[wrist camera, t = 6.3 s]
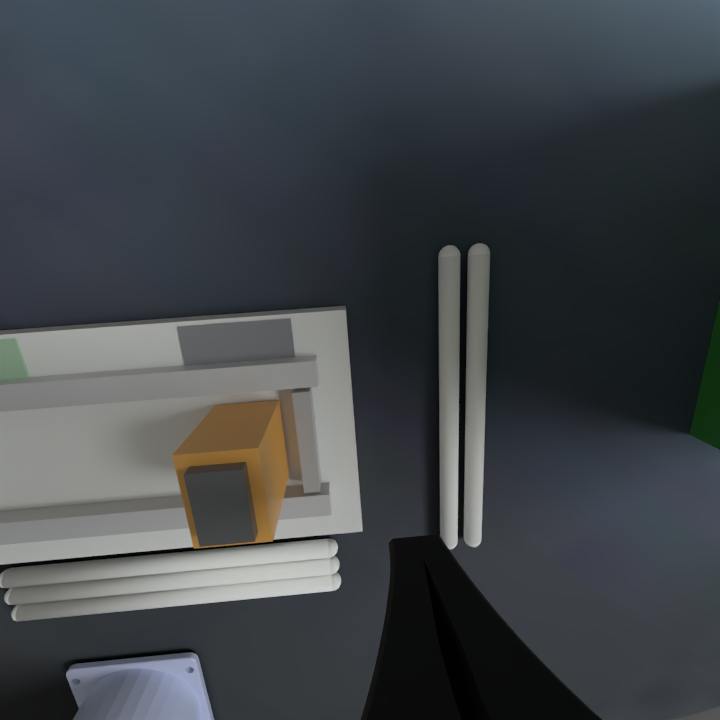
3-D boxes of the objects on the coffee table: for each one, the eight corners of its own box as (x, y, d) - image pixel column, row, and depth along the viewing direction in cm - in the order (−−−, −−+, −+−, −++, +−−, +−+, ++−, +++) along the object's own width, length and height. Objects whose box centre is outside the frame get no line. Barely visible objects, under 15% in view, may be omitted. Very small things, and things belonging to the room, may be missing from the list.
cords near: (477, 537, 22) (483, 550, 21) (438, 541, 22) (442, 554, 21) (485, 242, 17) (494, 241, 16) (435, 246, 17) (441, 245, 16)
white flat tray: (361, 512, 21) (363, 545, 19) (-30, 547, 20) (-80, 586, 18) (345, 305, 18) (346, 313, 15) (-121, 339, 17) (-196, 352, 15)
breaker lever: (289, 474, 18) (270, 551, 13) (229, 479, 18) (188, 559, 13) (279, 400, 17) (255, 455, 12) (214, 405, 17) (165, 462, 12)
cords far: (337, 533, 21) (337, 546, 20) (341, 579, 22) (341, 594, 21) (5, 564, 21) (-11, 579, 20) (24, 610, 22) (9, 626, 21)
